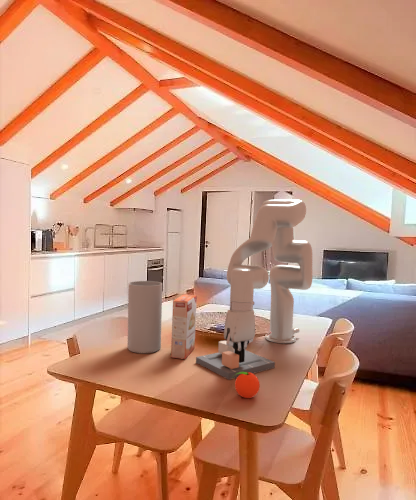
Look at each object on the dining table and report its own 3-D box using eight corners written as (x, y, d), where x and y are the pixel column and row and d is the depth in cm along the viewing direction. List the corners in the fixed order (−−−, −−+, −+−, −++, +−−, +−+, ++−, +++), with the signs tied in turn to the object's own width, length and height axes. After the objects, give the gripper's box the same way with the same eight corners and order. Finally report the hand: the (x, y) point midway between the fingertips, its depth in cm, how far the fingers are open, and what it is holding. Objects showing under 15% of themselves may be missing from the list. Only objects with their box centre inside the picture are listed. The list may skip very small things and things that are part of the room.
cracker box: (186, 360, 144) (188, 301, 143) (170, 358, 146) (171, 300, 144) (195, 348, 158) (197, 294, 157) (180, 346, 159) (182, 293, 158)
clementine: (227, 398, 114) (228, 373, 113) (235, 389, 120) (235, 365, 120) (255, 404, 111) (256, 378, 110) (261, 394, 117) (262, 370, 117)
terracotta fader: (228, 362, 136) (229, 350, 135) (238, 367, 132) (239, 355, 131) (221, 364, 134) (222, 352, 134) (231, 369, 130) (232, 356, 129)
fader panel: (239, 353, 154) (240, 347, 154) (274, 367, 139) (274, 361, 139) (196, 362, 142) (196, 356, 142) (229, 379, 127) (229, 373, 127)
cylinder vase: (138, 356, 147) (140, 287, 145) (121, 347, 156) (122, 282, 154) (167, 349, 155) (168, 284, 153) (149, 342, 164) (150, 280, 163)
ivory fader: (224, 351, 147) (225, 340, 147) (233, 355, 143) (234, 344, 143) (218, 352, 146) (218, 341, 145) (227, 356, 142) (227, 345, 141)
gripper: (250, 302, 141) (248, 354, 142) (216, 306, 132) (214, 362, 133) (266, 306, 135) (263, 360, 136) (231, 310, 126) (228, 369, 127)
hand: (239, 361), depth 135 cm, fingers closed
